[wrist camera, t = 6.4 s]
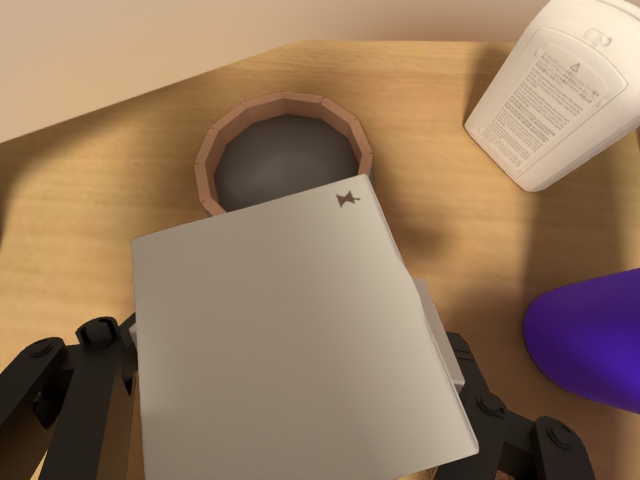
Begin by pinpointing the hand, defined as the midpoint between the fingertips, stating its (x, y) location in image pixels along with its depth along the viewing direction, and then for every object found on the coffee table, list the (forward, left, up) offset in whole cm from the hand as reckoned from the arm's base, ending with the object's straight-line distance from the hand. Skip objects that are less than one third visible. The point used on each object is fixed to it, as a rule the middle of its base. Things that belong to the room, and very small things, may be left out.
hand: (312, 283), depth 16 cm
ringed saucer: (-6, +11, -7) cm, 14 cm away
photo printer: (+15, +18, -7) cm, 25 cm away
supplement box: (0, -3, -7) cm, 8 cm away
